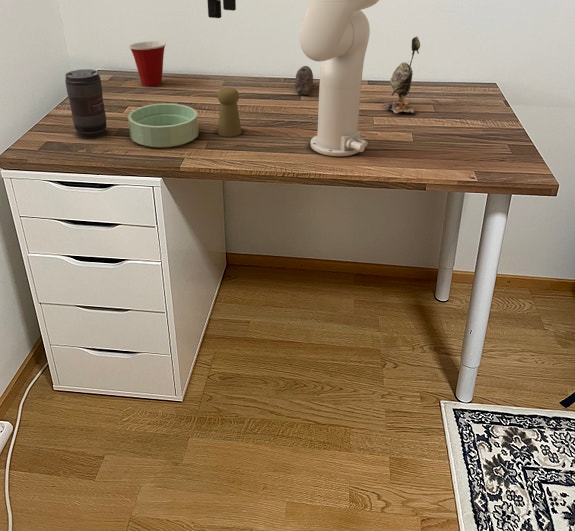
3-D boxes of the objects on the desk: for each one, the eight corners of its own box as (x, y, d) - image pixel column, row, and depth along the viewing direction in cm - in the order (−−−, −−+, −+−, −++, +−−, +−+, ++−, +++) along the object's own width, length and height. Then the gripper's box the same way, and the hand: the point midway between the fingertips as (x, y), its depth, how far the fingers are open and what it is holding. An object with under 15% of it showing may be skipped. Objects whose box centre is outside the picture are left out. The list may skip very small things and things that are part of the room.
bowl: (212, 137, 154) (210, 116, 151) (153, 155, 144) (151, 132, 141) (174, 119, 164) (173, 99, 161) (118, 134, 155) (115, 113, 152)
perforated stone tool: (298, 82, 193) (298, 59, 189) (314, 83, 193) (315, 60, 189) (293, 97, 181) (293, 73, 177) (311, 98, 180) (312, 74, 176)
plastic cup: (158, 76, 196) (154, 37, 190) (176, 84, 189) (172, 44, 183) (126, 82, 190) (121, 42, 184) (144, 91, 183) (139, 49, 177)
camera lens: (106, 126, 159) (97, 67, 151) (110, 137, 153) (101, 76, 145) (73, 129, 157) (62, 69, 149) (76, 141, 151) (65, 79, 142)
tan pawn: (243, 128, 160) (242, 85, 154) (239, 137, 154) (238, 93, 148) (220, 127, 160) (218, 84, 154) (215, 135, 155) (213, 92, 149)
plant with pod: (410, 102, 179) (419, 29, 168) (416, 116, 169) (426, 40, 158) (382, 102, 179) (389, 29, 168) (386, 115, 169) (394, 39, 158)
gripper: (220, -60, 137) (223, 21, 146) (246, -67, 151) (248, 8, 160) (188, -62, 139) (194, 19, 148) (218, -68, 153) (221, 6, 162)
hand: (222, 13), depth 154 cm, fingers open, 9 cm apart
